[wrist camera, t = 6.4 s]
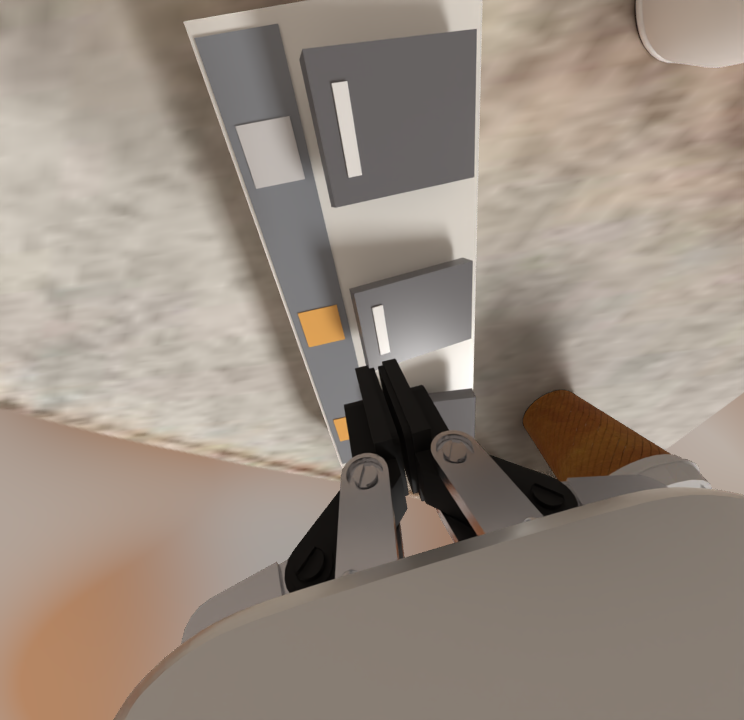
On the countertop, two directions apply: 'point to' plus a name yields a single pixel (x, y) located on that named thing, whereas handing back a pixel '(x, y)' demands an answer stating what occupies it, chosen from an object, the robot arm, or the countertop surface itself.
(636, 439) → the disposable coffee cup
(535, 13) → the countertop surface
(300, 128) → the switch unit
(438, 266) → the rocker middle
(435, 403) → the rocker
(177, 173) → the countertop surface
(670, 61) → the white bottle
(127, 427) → the countertop surface
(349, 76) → the plate
